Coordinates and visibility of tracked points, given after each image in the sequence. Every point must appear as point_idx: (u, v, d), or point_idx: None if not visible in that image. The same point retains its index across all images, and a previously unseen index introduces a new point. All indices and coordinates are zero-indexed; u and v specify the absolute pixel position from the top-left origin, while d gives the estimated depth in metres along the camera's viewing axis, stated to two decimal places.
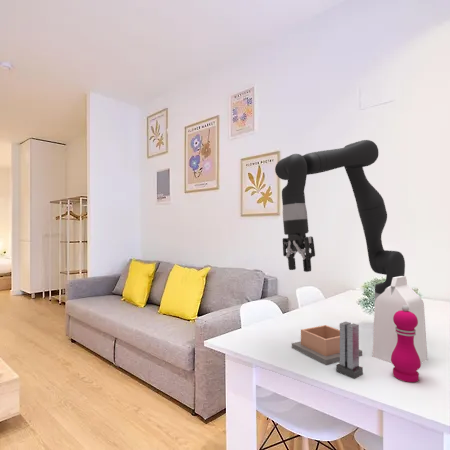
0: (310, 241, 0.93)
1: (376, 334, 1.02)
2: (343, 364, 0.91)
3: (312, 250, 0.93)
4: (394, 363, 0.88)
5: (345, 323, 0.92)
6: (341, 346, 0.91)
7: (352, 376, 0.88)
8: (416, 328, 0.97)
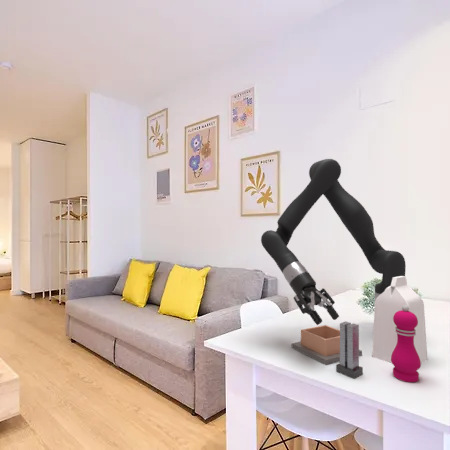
0: (297, 298, 0.97)
1: (376, 334, 1.02)
2: (343, 364, 0.91)
3: None
4: (394, 363, 0.88)
5: (345, 323, 0.92)
6: (341, 346, 0.91)
7: (352, 376, 0.88)
8: (416, 328, 0.97)
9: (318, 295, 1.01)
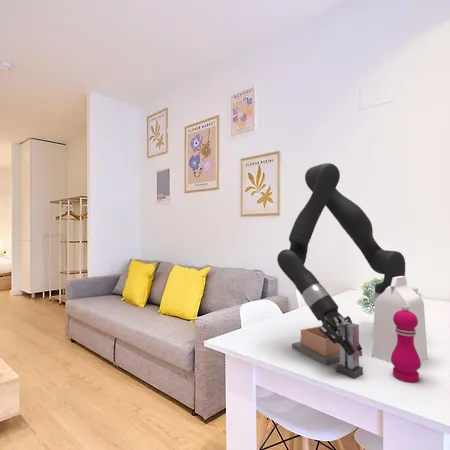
0: (325, 330, 0.90)
1: (376, 334, 1.02)
2: (343, 364, 0.91)
3: None
4: (394, 363, 0.88)
5: (345, 323, 0.92)
6: (341, 346, 0.91)
7: (352, 376, 0.88)
8: (416, 328, 0.97)
9: (340, 320, 0.94)
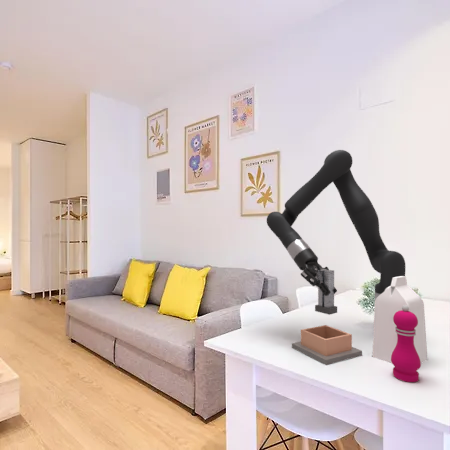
0: (305, 274, 1.06)
1: (376, 334, 1.02)
2: (321, 304, 1.06)
3: None
4: (394, 363, 0.88)
5: (323, 270, 1.07)
6: (319, 289, 1.07)
7: (328, 312, 1.04)
8: (416, 328, 0.97)
9: (319, 269, 1.10)
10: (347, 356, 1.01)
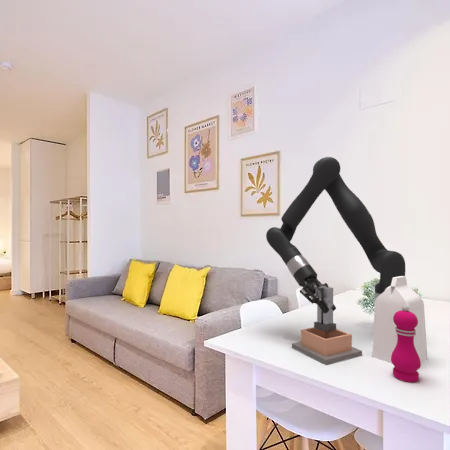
0: (304, 292, 1.06)
1: (376, 334, 1.02)
2: (320, 321, 1.07)
3: None
4: (394, 363, 0.88)
5: (322, 287, 1.08)
6: (318, 306, 1.07)
7: (327, 330, 1.04)
8: (416, 328, 0.97)
9: (318, 285, 1.10)
10: (347, 356, 1.01)
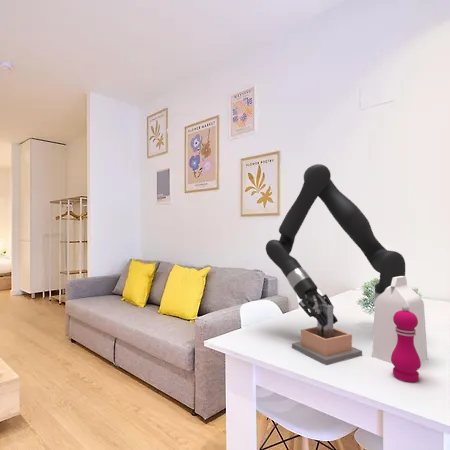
0: (303, 304, 1.06)
1: (376, 334, 1.02)
2: None
3: None
4: (394, 363, 0.88)
5: (322, 304, 1.08)
6: (319, 324, 1.07)
7: None
8: (416, 328, 0.97)
9: (319, 298, 1.10)
10: (347, 356, 1.01)
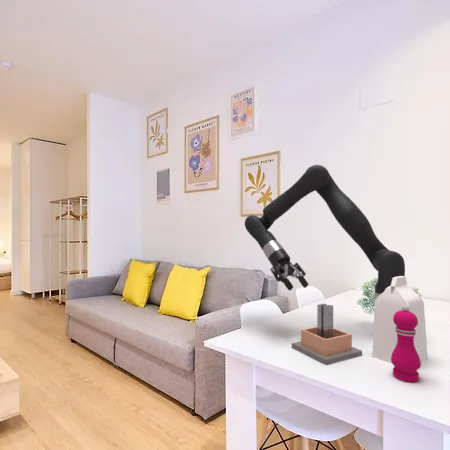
0: (273, 269, 1.17)
1: (376, 334, 1.02)
2: None
3: None
4: (394, 363, 0.88)
5: (322, 304, 1.08)
6: (319, 324, 1.07)
7: None
8: (416, 328, 0.97)
9: (291, 267, 1.20)
10: (347, 356, 1.01)
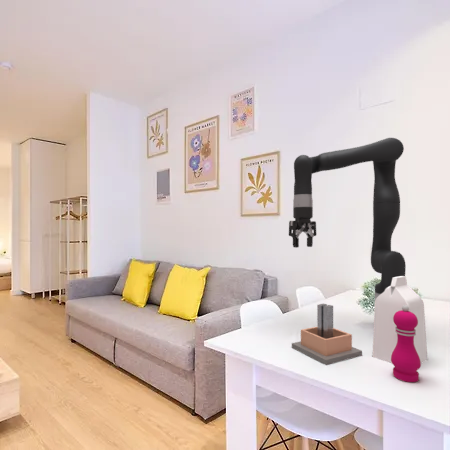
0: (291, 224, 1.22)
1: (376, 334, 1.02)
2: None
3: None
4: (394, 363, 0.88)
5: (322, 304, 1.08)
6: (319, 324, 1.07)
7: None
8: (416, 328, 0.97)
9: (308, 227, 1.26)
10: (347, 356, 1.01)
